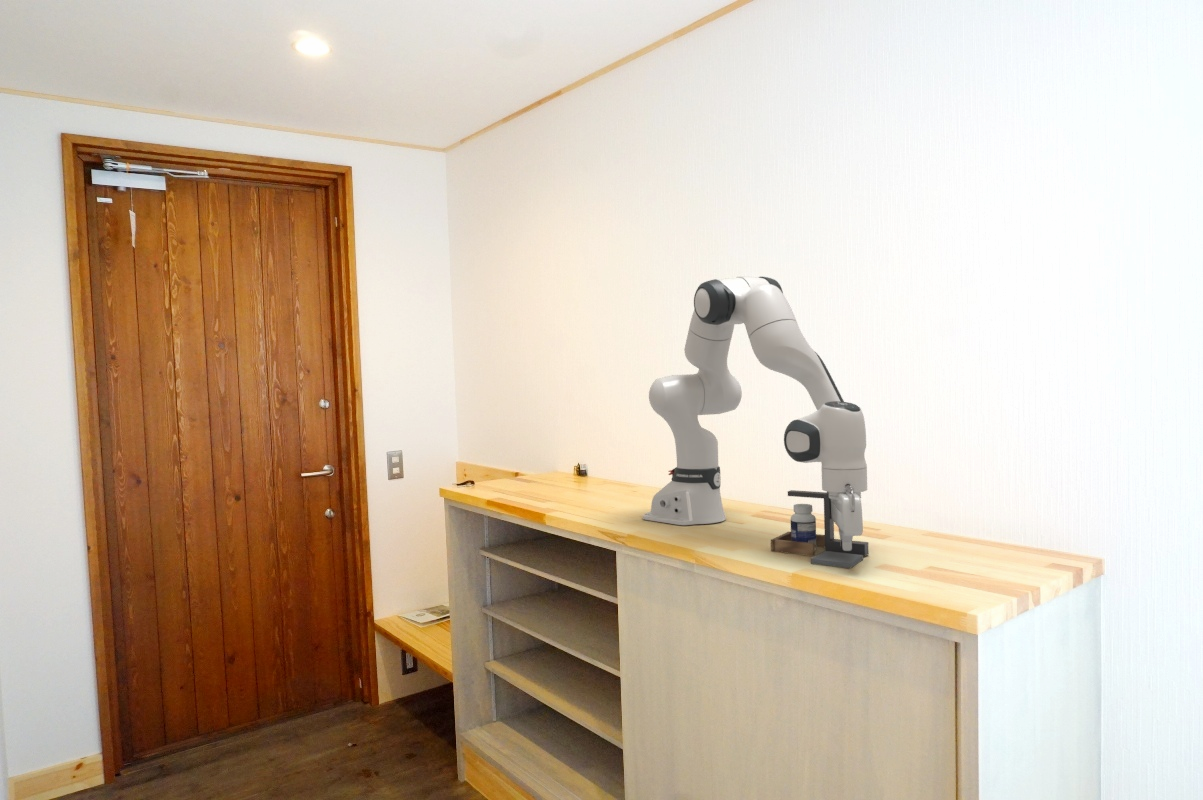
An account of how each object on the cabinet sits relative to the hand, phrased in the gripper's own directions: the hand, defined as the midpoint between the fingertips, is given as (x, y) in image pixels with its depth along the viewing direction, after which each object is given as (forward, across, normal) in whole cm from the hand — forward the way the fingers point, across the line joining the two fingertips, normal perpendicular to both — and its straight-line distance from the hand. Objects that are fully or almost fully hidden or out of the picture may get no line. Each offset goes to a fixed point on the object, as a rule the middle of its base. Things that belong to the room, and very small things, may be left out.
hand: (846, 549), depth 159 cm
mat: (+3, 0, +2) cm, 3 cm away
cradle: (+2, +11, +7) cm, 14 cm away
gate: (+2, +9, +3) cm, 10 cm away
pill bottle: (+3, +11, +7) cm, 14 cm away
